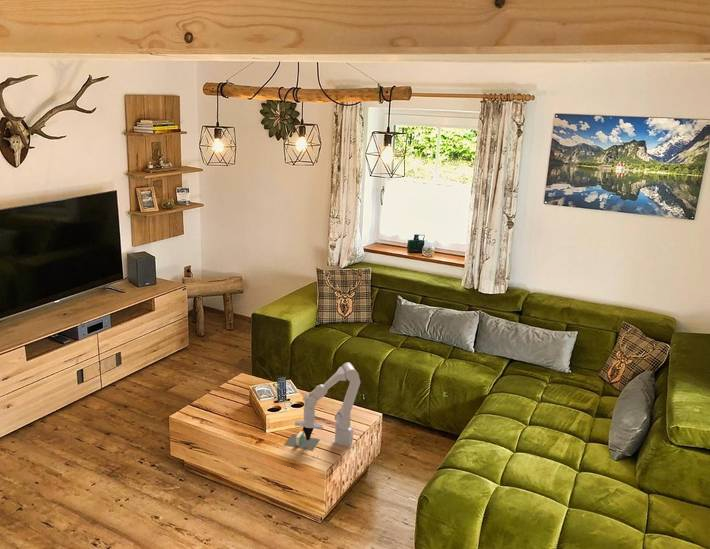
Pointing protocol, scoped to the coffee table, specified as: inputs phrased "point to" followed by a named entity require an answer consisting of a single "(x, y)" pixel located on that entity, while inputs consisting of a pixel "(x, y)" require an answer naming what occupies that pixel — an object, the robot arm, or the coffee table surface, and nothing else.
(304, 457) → the coffee table surface
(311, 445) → the mat
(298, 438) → the tile
